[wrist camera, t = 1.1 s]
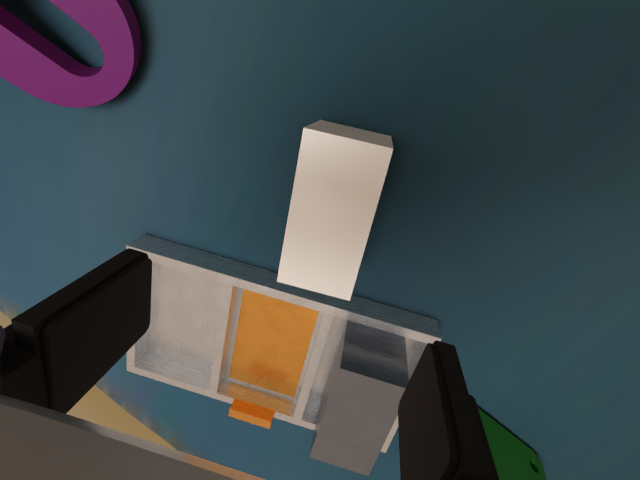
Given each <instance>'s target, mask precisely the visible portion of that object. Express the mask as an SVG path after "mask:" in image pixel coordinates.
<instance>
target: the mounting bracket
mask: <svg viewBox="0 0 640 480" xmlns="http://www.w3.org/2000/svg"><path fill="white" fill-rule="evenodd" d="M49 1H50V2H52V3H53V4H54V5H56V6H57V7H58V8H59V9H61V10H62V11H63V12H64V13H66V14H67V15H68V16H69V17H71V18H72V19H73V20H75V21H76V22H77V23H78V24H80V25H81V26H82V27H83V28H85V29H86V30H87V31H88V32H90V33H91V34H92V35H93V36H94V38H95V39H96V40H97V41H98V43H99V45H100V47H101V49H102V52H103V56H104V63H103V67H99V68H93V67H88V66H85V65H83V64H81V63H79V62H78V61H76V60H75V59H73V58H72V57H71V56H69V55H68V54H67V53H65V52H64V51H62V50H61V49H60V48H58V47H57V46H56V45H54V44H53V43H51V42H50V41H49V40H47V39H46V38H45V37H43V36H42V35H40V34H39V33H38V32H36V31H35V30H34V29H32V28H31V27H29V26H28V25H27V24H25V23H24V22H23V21H21V20H20V19H19V18H17V17H16V16H14V15H13V14H12V13H10V12H9V11H8V10H6V9H5V8H3V7H2V6H1V5H0V76H1V77H3V78H4V79H6V80H7V81H9V82H11V83H12V84H14V85H15V86H17V87H19V88H20V89H22V90H24V91H25V92H27V93H29V94H31V95H33V96H35V97H37V98H40V99H42V100H45V101H47V102H50V103H54V104H57V105H62V106H67V107H78V108H80V107H92V106H97V105H101V104H103V103H106V102H108V101H110V100H111V99H113V98H114V97H116V96H117V95H118V94H119V93H120V92H121V91H122V90H123V89H124V88H125V86H126V85H127V84H128V83H129V81H130V80H131V79H132V77H133V76H134V74H135V72H136V70H137V67H138V64H139V60H140V56H141V36H140V30H139V26H138V22H137V19H136V16H135V14H134V11H133V9H132V7H131V5H130V3H129V1H128V0H49Z"/></svg>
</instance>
